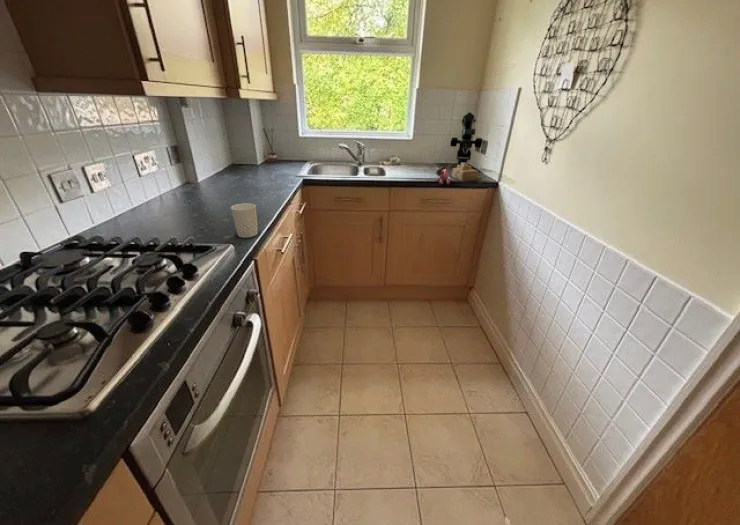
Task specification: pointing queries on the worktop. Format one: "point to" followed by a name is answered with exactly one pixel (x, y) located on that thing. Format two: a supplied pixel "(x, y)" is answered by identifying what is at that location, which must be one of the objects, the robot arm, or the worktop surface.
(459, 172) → the tan stepped block
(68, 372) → the worktop surface
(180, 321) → the worktop surface
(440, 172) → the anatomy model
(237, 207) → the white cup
